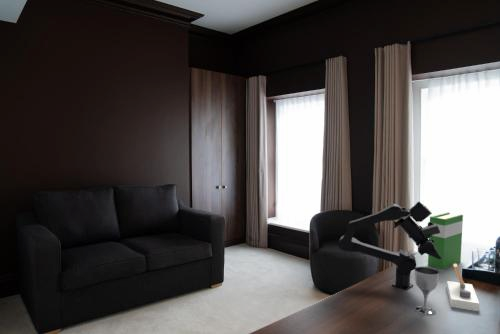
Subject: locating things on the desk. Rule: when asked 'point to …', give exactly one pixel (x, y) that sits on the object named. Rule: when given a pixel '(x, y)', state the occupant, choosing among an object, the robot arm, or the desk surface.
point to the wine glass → (426, 286)
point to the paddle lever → (459, 276)
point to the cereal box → (447, 240)
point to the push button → (465, 293)
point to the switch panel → (461, 301)
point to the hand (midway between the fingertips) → (440, 258)
